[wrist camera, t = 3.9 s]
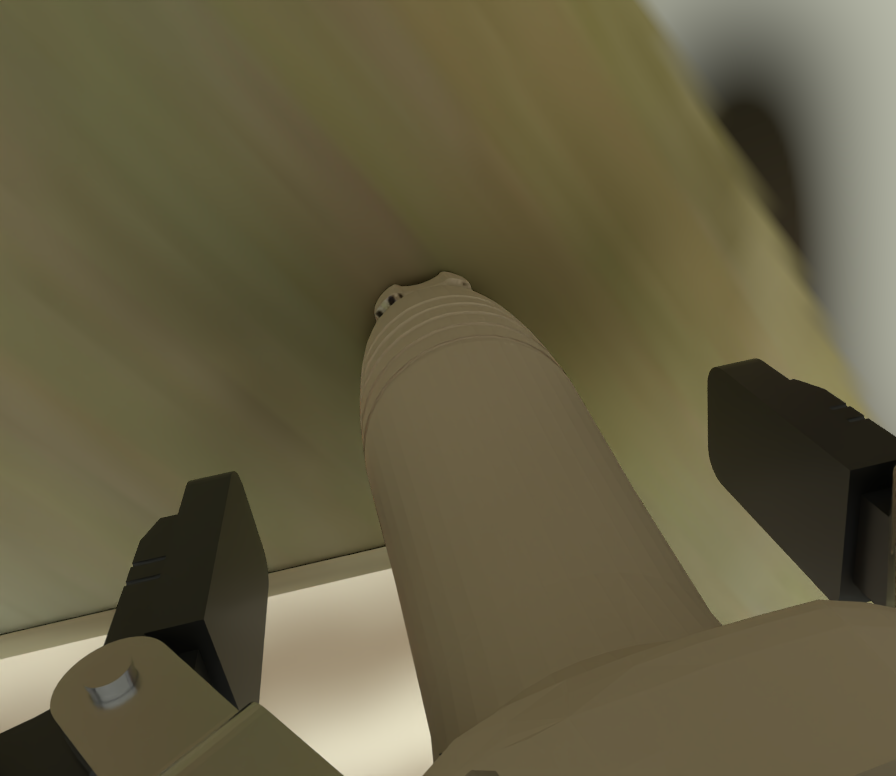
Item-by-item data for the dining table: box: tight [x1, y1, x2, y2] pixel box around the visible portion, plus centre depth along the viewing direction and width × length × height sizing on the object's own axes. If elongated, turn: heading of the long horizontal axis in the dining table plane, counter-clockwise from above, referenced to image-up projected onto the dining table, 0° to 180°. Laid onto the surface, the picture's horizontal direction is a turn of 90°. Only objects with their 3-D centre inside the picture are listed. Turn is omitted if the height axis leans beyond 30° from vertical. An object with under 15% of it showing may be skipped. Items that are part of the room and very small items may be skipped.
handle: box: [360, 271, 896, 776], centre depth 12 cm, size 5×6×15 cm
